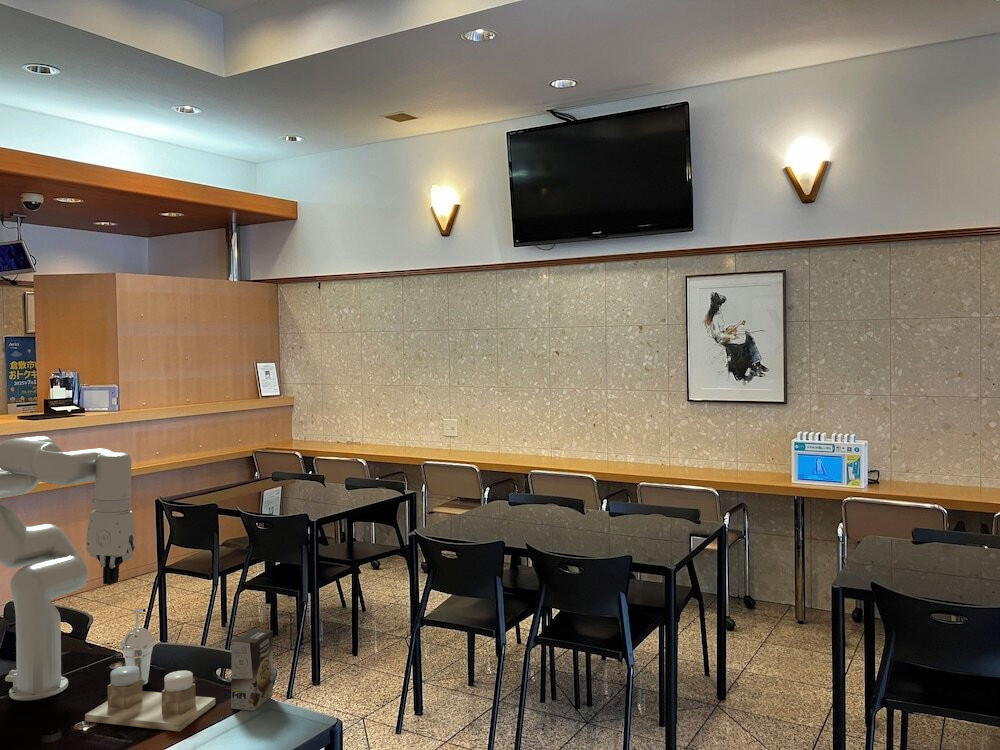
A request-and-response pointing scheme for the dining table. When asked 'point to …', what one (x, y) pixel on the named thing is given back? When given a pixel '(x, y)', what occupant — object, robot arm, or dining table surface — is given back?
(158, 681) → the dining table surface
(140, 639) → the cup with straw
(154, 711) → the wooden mounting board
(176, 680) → the knob
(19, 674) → the robot arm
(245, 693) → the coffee box
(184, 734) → the dining table surface
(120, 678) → the knob
